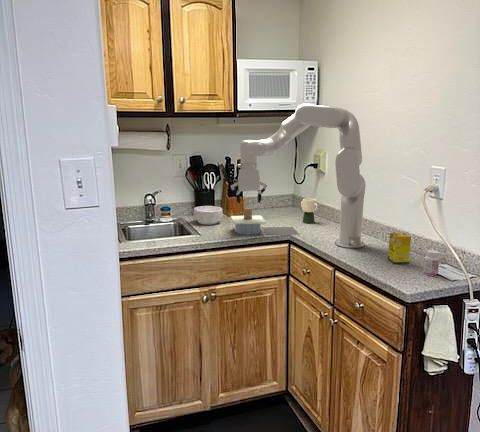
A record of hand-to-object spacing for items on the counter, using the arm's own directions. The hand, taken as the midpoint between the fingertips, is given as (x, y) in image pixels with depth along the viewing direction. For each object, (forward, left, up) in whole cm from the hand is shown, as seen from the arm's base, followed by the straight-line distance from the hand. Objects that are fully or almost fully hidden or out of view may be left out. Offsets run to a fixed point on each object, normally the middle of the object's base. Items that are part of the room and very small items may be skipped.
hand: (248, 202), depth 214 cm
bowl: (0, 0, -15) cm, 15 cm away
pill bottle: (-66, -57, -15) cm, 88 cm away
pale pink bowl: (+23, +18, -15) cm, 33 cm away
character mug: (+18, -35, -15) cm, 42 cm away
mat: (0, -16, -15) cm, 21 cm away
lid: (0, 0, -9) cm, 9 cm away
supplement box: (-51, -52, -15) cm, 74 cm away
